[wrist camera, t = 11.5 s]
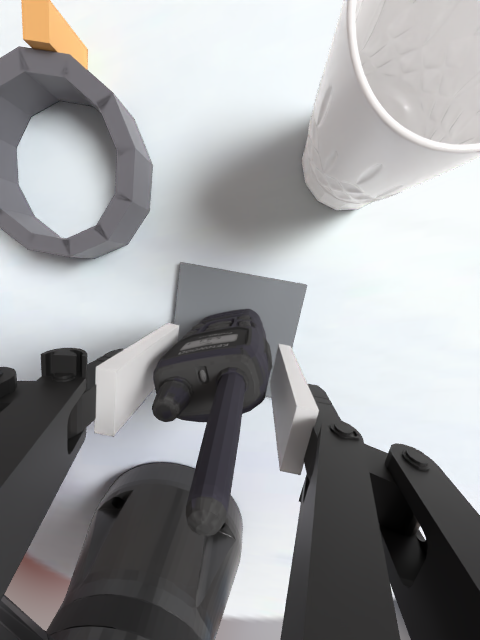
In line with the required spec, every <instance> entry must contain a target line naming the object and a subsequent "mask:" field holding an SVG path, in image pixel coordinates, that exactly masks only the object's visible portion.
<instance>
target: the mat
mask: <svg viewBox="0 0 480 640" xmlns="http://www.w3.org/2000/svg"><path fill="white" fill-rule="evenodd" d="M306 288H307V285H306V284H301V283H295V282H289V281H284V280H278V279H273V278H267V277H261V276H256V275H250V274H244V273H239V272H233V271H228V270H222V269H216V268H211V267H205V266H200V265H194V264H188V263H183V262H180V271H179V280H178V290H177V299H176V308H175V318H174V324H176V325H179V333H178V341H179V340H181V339H182V338H183V336H184V335H185V334H187V332H189V331H190V330H191V329H192V327H193V326H195V325H197V324H199V323H200V322H201V321H202V320H203V319H204V318H205V317H208V316H210V315H214V314H218V313H223V312H228V311H233V310H240V309H251V310H253V311H255V312H256V313H257V314H258V315H259V316H260V319H261V321H262V323H263V327H264V330H265V333H266V339H267V341H268V343H269V345H270V350H271V355H272V369H271V372H270V377H269V381H268V385H267V391H266V395H265V396H266V397H271V389H270V380H271V375H272V371H273V366H274V362H275V357H276V353H277V349H278V344H283V345H288V346H291V348H292V347H293V342H294V338H295V334H296V330H297V326H298V322H299V317H300V313H301V309H302V305H303V301H304V297H305V292H306Z"/></svg>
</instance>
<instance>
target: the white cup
mask: <svg viewBox="0 0 480 640" xmlns="http://www.w3.org/2000/svg"><path fill="white" fill-rule="evenodd" d="M477 158H480V0H343V4H342V7H341V11H340V14H339V18H338V21H337V25H336V28H335V32H334V35H333V39H332V42H331V46H330V49H329V53H328V56H327V60H326V63H325V67H324V70H323V74H322V77H321V81H320V84H319V88H318V92H317V95H316V99H315V103H314V106H313V111H312V116H311V119H310V123H309V133H308V136H307V140H306V144H305V148H304V153H303V157H302V166H303V172H304V178H305V184H306V185H307V187H308V188H309V189H310V191H311V192H312V194H313V195H314V196H315V198H316V199H317V201H319V202H321V203H323V204H325V205H327V206H329V207H331V208H333V209H335V210H354V209H360V208H362V207H364V206H366V205H368V204H370V203H372V202H375V201H378V200H382V199H386V198H388V197H390V196H393V195H396V194H398V193H400V192H403V191H405V190H407V189H410V188H412V187H415V186H418V185H420V184H422V183H425V182H427V181H429V180H431V179H433V178H435V177H437V176H440V175H442V174H444V173H446V172H448V171H451V170H453V169H455V168H457V167H460V166H462V165H464V164H466V163H468V162H471V161H473V160H475V159H477Z"/></svg>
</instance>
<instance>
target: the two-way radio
mask: <svg viewBox="0 0 480 640" xmlns="http://www.w3.org/2000/svg"><path fill="white" fill-rule="evenodd" d="M271 369H272V355H271V350H270V345H269V343H268V341H267V339H266V333H265V330H264V327H263V323H262V321H261V319H260V316H259V315H258V314H257V313H256V312H255V311H253V310H251V309H240V310H233V311H228V312H223V313H218V314H214V315H210V316H208V317H205V318H204V319H203V320H202V321H201V322H200V323H199V324H197V325H195V326H193V327H192V329H191V330H190V331H189V332H187V334H185V335H184V336H183V338H182V339H181V340H179V341H178V342H177V343H176V344H175V345H174V346H173V347H172V348H171V349H169V350H168V351H167V352H166V353H165V354H164V355H163V356H162V357H161V359H160V360H159V361H158V363H157V365H156V368H155V370H154V372H153V381H154V385H155V390H156V394H157V395H156V398H155V400H154V402H153V406H152V410H153V414H154V416H155V417H156V418H157V419H159V420H161V421H164V422H169V421H173V420H174V419H176V418H179V419H181V420H186V421H195V422H207V425H206V428H205V432H204V436H203V440H202V444H201V448H200V452H199V456H198V460H197V464H196V468H195V472H194V476H193V480H192V484H191V488H190V492H189V496H188V500H187V504H186V518H187V523H188V526H189V527H190V529H191V530H192V531H193V532H194V533H196V534H198V535H200V536H211V535H214V534H216V533H217V532H218V531H219V530H220V529H221V527H222V526H223V524H224V523H225V521H226V519H227V513H228V506H229V500H230V493H231V487H232V480H233V474H234V467H235V460H236V454H237V447H238V441H239V434H240V426H241V417H242V414H243V413H246V412H248V411H251V410H252V409H253V408H255V407H256V406H257V405H259V404H260V403H261V402H262V401H263V400H264V398H265V395H266V391H267V385H268V381H269V377H270V372H271Z"/></svg>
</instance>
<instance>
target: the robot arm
mask: <svg viewBox="0 0 480 640" xmlns="http://www.w3.org/2000/svg"><path fill="white" fill-rule="evenodd" d="M178 333H179V325H176V324H171V323H167V324H165V325H164V326H162V327H160V328H159V329H157V330H155V331H154V332H152V333H150V334H149V335H147V336H146V337H144V338H142V339H141V340H139V341H137V342H136V343H134V344H133V345H131V346H129V347H128V348H126V349H118V350H114V351H111V352H109V353H107V354H105V355H104V356H103V357H100V358H98V359H97V360H95V361H93V362H91V363H89V364H88V365H87V353H86V351H84V350H82V349H77V348H60V349H54V350H50V351H46V352H44V353H42V354H41V370H42V377H40V378H39V379H38V380H37V381H17V377H16V371H15V370H14V369H12V368H8V367H0V640H215V638H216V634H217V631H218V628H219V625H220V622H221V619H222V616H223V613H224V610H225V606H226V603H227V600H228V597H229V594H230V591H231V588H232V585H233V582H234V578H235V575H236V572H237V569H238V566H239V562H240V557H241V549H242V531H243V524H242V518H241V514H240V511H239V508H238V506H237V504H236V502H235V501H234V499H233V498H232V496H231V495H230V500H229V506H228V513H227V519H226V521H225V523H224V524H223V526H222V527H221V529H220V530H219V531H218V532H217V533H216V534H214V535H211V536H200V535H198V534H196V533H194V532H193V531H192V530H191V529H190V527H189V526H188V523H187V518H186V504H187V500H188V496H189V492H190V488H191V484H192V480H193V476H194V472H195V469H193V468H190V467H187V466H183V465H179V464H172V463H152V464H146V465H142V466H139V467H136V468H133V469H131V470H129V471H127V472H126V473H124V474H123V475H121V476H120V477H119V478H118V479H117V480H116V481H115V482H114V483H113V484H112V486H111V487H110V489H109V490H108V492H107V493H106V495H105V496H104V498H103V499H102V501H101V502H100V504H99V505H98V507H97V509H96V511H95V513H94V516H93V518H92V521H91V524H90V527H89V530H88V533H87V536H86V539H85V542H84V544H83V547H82V550H81V553H80V556H79V559H78V562H77V565H76V568H75V571H74V573H73V576H72V579H71V582H70V585H69V588H68V591H67V594H66V597H65V599H64V601H63V603H62V605H61V607H60V609H59V610H58V612H57V614H56V616H55V617H54V619H53V621H52V622H51V624H50V626H49V628H48V629H47V631H45V630H43V629H42V628H41V627H40V626H39V625H37V624H36V623H35V622H34V621H33V620H32V619H31V618H30V617H29V616H27V615H26V614H25V613H24V612H23V611H21V609H20V608H19V607H17V606H16V605H15V604H14V603H13V602H12V601H11V600H10V599H9V598H7V597H6V596H5V595H4V593H5V592H6V590H7V587H8V586H9V584H10V582H11V580H12V578H13V576H14V574H15V572H16V570H17V568H18V567H19V565H20V562H21V561H22V559H23V557H24V555H25V553H26V551H27V549H28V547H29V546H30V544H31V542H32V540H33V538H34V536H35V534H36V532H37V530H38V528H39V526H40V524H41V522H42V521H43V519H44V517H45V515H46V513H47V511H48V509H49V507H50V505H51V503H52V501H53V499H54V498H55V496H56V494H57V492H58V490H59V488H60V486H61V484H62V482H63V480H64V478H65V476H66V475H67V473H68V471H69V469H70V467H71V465H72V463H73V461H74V459H75V457H76V455H77V453H78V451H79V450H80V448H81V446H82V444H83V442H84V440H85V437H86V427H87V426H88V425H89V424H90V423H91V422H92V421H94V433H97V434H102V435H107V436H112V437H114V436H115V435H116V433H117V432H118V431H119V430H120V429H121V427H122V426H123V425H124V424H125V423H126V422H127V420H128V419H129V418H130V417H131V416H132V415H133V413H134V412H135V411H136V410H137V409H138V407H139V406H140V405H141V404H142V403H143V402H144V400H145V399H146V398H147V397H148V396H149V395H150V393H151V392H152V391H153V390H154V389H155V385H154V381H153V372H154V370H155V368H156V365H157V363H158V361H159V360H160V359H161V357H162V356H163V355H164V354H165V353H166V352H167V351H168V350H169V349H171V348H172V347H173V346H174V345H175V344H176V343H177V342H178ZM270 389H271V398H272V406H273V415H274V424H275V432H276V441H277V450H278V458H279V467H280V471H283V472H288V473H293V474H298V475H301V471H302V468H303V464H305V468H306V472H307V475H306V478H305V482H304V485H303V488H302V492H301V495H300V498H299V501H300V502H301V506H300V513H299V519H298V526H297V533H296V539H295V546H294V553H293V559H292V566H291V573H290V579H289V586H288V593H287V600H286V606H285V613H284V620H283V626H282V634H281V640H400V636H399V630H398V624H397V619H396V614H395V608H394V603H393V597H392V592H391V587H392V589H393V592H394V595H395V598H396V600H397V603H398V606H399V608H400V611H401V614H402V616H403V619H404V622H405V625H406V628H407V630H408V633H409V636H410V638H411V640H480V515H479V514H478V513H477V512H476V510H475V509H474V508H473V507H472V506H471V504H470V503H469V502H468V501H467V500H466V498H465V497H464V496H463V495H462V494H461V493H460V491H459V490H458V489H457V488H456V487H455V485H454V484H453V483H452V482H451V481H450V479H449V478H448V477H447V476H446V475H445V473H444V472H443V471H442V470H441V469H440V467H439V466H438V465H437V464H436V463H435V462H434V461H433V460H432V459H430V458H429V457H427V456H426V455H425V454H424V453H422V452H421V451H419V450H416V449H415V448H413V447H409V446H407V445H404V444H393V445H391V448H390V450H389V453H386V452H383V451H381V450H378V449H376V448H373V447H371V446H368V445H366V444H364V441H363V438H362V436H361V434H360V433H359V432H358V431H357V430H356V429H355V428H353V427H352V426H351V425H349V424H347V423H345V422H343V421H341V419H340V417H339V416H338V414H337V412H336V410H335V409H334V407H333V406H332V403H331V401H330V400H329V398H328V396H327V394H326V392H325V391H324V390H322V389H321V388H320V387H319V386H317V385H312V384H307V382H306V380H305V377H304V375H303V373H302V371H301V368H300V366H299V364H298V362H297V359H296V357H295V355H294V352H293V350H292V348H291V346H288V345H283V344H278V349H277V353H276V357H275V362H274V366H273V371H272V375H271V380H270ZM420 526H421V528H422V529H423V532H424V534H425V536H426V540H425V539H424V537H423V536H422V534H421V532H420V530H419V527H420ZM390 584H391V587H390Z"/></svg>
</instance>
